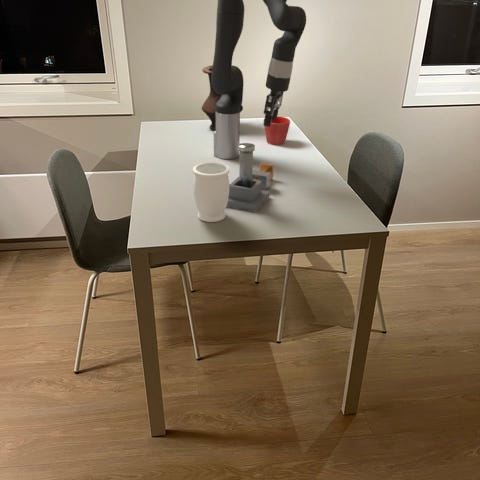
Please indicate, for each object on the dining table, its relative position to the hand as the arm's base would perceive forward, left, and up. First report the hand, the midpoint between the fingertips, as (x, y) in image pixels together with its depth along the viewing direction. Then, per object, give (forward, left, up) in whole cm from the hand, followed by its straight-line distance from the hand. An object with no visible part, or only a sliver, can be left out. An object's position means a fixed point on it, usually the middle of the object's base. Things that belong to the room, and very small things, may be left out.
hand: (270, 122), depth 163 cm
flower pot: (-9, +36, -19) cm, 42 cm away
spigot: (+1, -25, -17) cm, 30 cm away
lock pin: (+1, -10, -18) cm, 21 cm away
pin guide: (+1, -13, -19) cm, 23 cm away
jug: (-38, +46, -19) cm, 62 cm away
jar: (-4, -39, -19) cm, 43 cm away
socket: (+1, -25, -19) cm, 31 cm away
